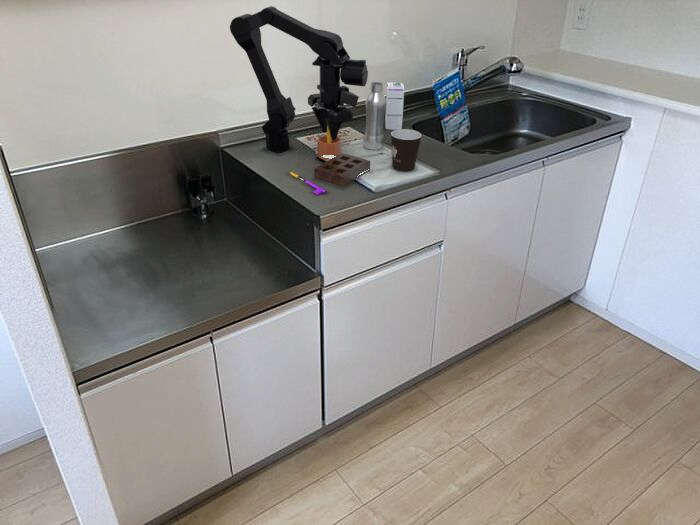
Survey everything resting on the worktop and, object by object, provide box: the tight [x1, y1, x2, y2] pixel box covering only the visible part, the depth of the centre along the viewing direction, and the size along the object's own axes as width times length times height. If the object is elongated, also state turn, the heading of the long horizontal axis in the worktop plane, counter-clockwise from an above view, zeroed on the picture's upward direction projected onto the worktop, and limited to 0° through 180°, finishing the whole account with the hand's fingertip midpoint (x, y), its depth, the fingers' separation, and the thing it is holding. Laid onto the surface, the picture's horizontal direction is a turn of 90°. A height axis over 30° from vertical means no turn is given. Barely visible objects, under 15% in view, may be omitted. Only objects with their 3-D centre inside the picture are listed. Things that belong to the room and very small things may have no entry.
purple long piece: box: [289, 171, 327, 196], centre depth 152 cm, size 3×1×16 cm
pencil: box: [326, 125, 332, 143], centre depth 166 cm, size 1×1×10 cm
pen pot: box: [317, 134, 342, 161], centre depth 168 cm, size 7×7×6 cm
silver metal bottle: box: [362, 81, 386, 151], centre depth 170 cm, size 6×7×20 cm
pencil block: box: [313, 152, 371, 188], centre depth 157 cm, size 10×14×4 cm
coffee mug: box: [390, 128, 422, 173], centre depth 162 cm, size 12×9×10 cm
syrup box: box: [384, 81, 405, 131], centre depth 189 cm, size 6×6×14 cm
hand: (329, 136), depth 165 cm, fingers open, 6 cm apart
